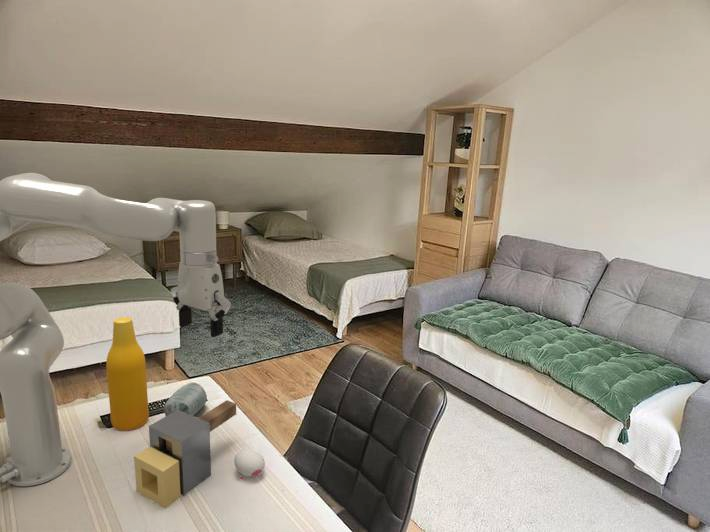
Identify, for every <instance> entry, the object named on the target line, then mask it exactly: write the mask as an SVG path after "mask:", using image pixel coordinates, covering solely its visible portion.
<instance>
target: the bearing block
mask: <svg viewBox="0 0 710 532" xmlns="http://www.w3.org/2000/svg"><path fill="white" fill-rule="evenodd" d="M148 434H149V435H148V436H149V447H152V448H154V449H156V450H158V451H160V452H162V453H164V454H166V455H168V456H170V457H172V458H174V459H176V460H178V461H179V473H180V495H182V496H183V497H185V496H186V495H188V494H189V493H190V492H191V491H193V490H194V489H195V488H196V487H197V486H199V485H200V484H201V483H203V482H204V481H205V480H206V479H208V478H210V476H212V462H211V460H212V459H211V458H212V456H211V451H212V450H211V432H210V423H208V422H206V421H204V420H201V419H199V417H197V416H195V415H194V416H192V415H189V414H187V413H185V412H182V411H180V410H176V411H174V412H173V413H171V414H169V415H167V416H164V417H162V418H161V419H158V420H157V421H156V422H153V423H152V424H150V425H148ZM166 440H167V441H169V442H172V452H173V453H171V452H169V451H167V450H166Z"/></svg>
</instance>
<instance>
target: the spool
mask: <svg viewBox="0 0 710 532" xmlns="http://www.w3.org/2000/svg"><path fill="white" fill-rule="evenodd" d="M207 400H208V396H207V393H206V391H205V389H204V387H203V386H202V385H201V384H199V383H197V382H189V383H186V384H184V385H183V386H181V387H180V388H178V389H177V390H176V391H175V392H173V394H171V396H170V397H169V398H168V400H167V401H166V402H165V404H164V405H163V413H164V417H166V416H167V415H169V414H171V413H173V412H174V411H176V410H180V411H182V412H185V413H187V414H189V415H192V416H194V417H195V415H196V414H197V413H198V412H199V411H200V410H201V409H202V408H203V407H204V406H205V404H206V403H207Z"/></svg>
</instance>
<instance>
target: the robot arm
mask: <svg viewBox="0 0 710 532" xmlns="http://www.w3.org/2000/svg"><path fill="white" fill-rule="evenodd" d="M216 218H217V217H216V207H215V205H214V203H213V202H212V201H209V200H203V199H202V200H201V199H190V200H180V199H175V198H174V199H173V198H168V197H155V198H153V199H151V200H149V201H147V202H146V203H145V202H138V201H131V200H123V199H119V198H115V197H110V196H107V195H104V194H102V193H100V192H99V191H97V190H96V188H93V187H91V186H89V185H85V184H84V185H83V184H77V183H70V182H63V181H57V180H51V179H50V178H49V177H47V176H46V175H44V174H40V173H36V172H25V173H19V174H14V175H9V176H6V177H4V178H3V179H1V180H0V242H2V241H3V240H5V239H7V238H8V237H10V236H12V235H13V234H15V233H17V232H18V231H20V230H21V229H23V228H24V227H25V226H27V225H29V224H30V223H32V222H37V223H38V222H39V223H44V224H45V223H46V224H54V225H61V226H69V227H74V228H76V227H77V228H83V229H87V230H89V231H92V232H95V233H99V234H102V235H106V236H110V237H115V238H121V239H127V240H128V239H129V240H134V241H135V240H136V241H146V242H157V241H162V240H164V239H166V238H168V237H169V236H170V235H171V234H172V233H173V232H175V231H178V232H179V249H180V250H179V253H180V261H179V266H178V274H177V286H174V287H172V288H170V293H171V295H172V297H173V298H172V299H173V302H174V303H175V305H176V307H175V308H176V310H178V324H179V327H180V328H184V327H186V326H189V325H191V324H193V321H192V320H193V319H192V318H193V317H192V308H194V309H199V310H202V311H204V312H205V311H207V312H208V314H209V316H210V317H211V320H209V322H210V337H211V338H215V337H216V338H217V337H218V336H220V335H222V334H223V333H224V322H223V321H224V320H223V319H224V318H225V317H226V315H227V314H228V313H229V310H230V308H231V307H232V302H231V301H230V300H228V298H226V297H225V292H224V282H223V274H222V270H221V266H220V264H218V263H217V262H218V261H219V256H217V231H216V230H217V219H216ZM216 312H217V313H216ZM9 337H12V339H11V340H10V341H9V342H8V343H7V344H6V345H5V346H3V348H2V349H0V395H1V400H2V405H3V412H4V416H5V417H4V418H5V423H6V428H7V429H6V430H7V436H8V442H9V443H8V444H9V449H10V450H9V451H10V456H8V457H6V463H5V464H3V465H2V467H0V482H2V484H3V483H5V482H7V483H8V484H10V485H13V486H15V487H30V486H31V487H32V486H37V485H41V484H44V483H46V482H49V481H51V480H53V479H55V478H57V477H59V476H60V475H61V474H62V473H64V472H65V471H66V470H67V469H68V468H69V466H70V465H71V463H72V455H71V453H70V451H69V450H68V449H67V448H64V447H63V446H62V437H61V428H60V420H59V414H58V413H59V411H58V404H57V403H58V401H57V395H56V389H55V387H54V383H53V381H52V379H51V377H50V369H51V367H52V365H54V363H55V361H56V360H57V359H58V358H59V356H60V354H61V353H62V351H63V349H64V347H65V340H64V335H63V333H62V331H61V329H60V328H59V326H58V324H57V323H56V321H55V320H54V318H53V316H52V315H51V313H50V311H49V310H48V308H47V306H45V304H44V302H43V301H42V299H41V298H40V296H39V295H38V294H37V293H36V292H35V291H34V290H33V289H32V288H30V287H29V286H27V285H25V284H21V283H19V282H7V283H2V281H1V280H0V341H2V340H4V339H6V338H9Z"/></svg>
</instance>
